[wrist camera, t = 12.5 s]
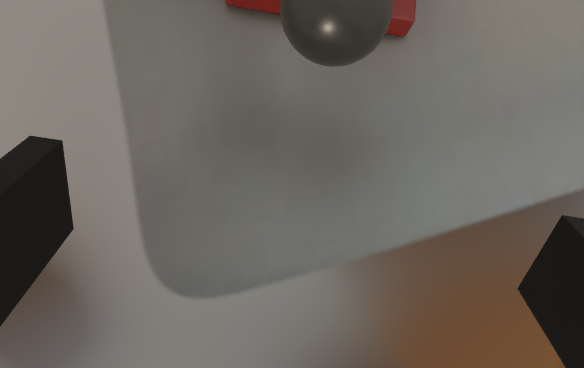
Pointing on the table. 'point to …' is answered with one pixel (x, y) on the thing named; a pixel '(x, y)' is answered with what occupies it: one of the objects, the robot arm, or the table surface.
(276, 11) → the bracket
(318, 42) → the lever
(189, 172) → the table surface
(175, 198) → the table surface
